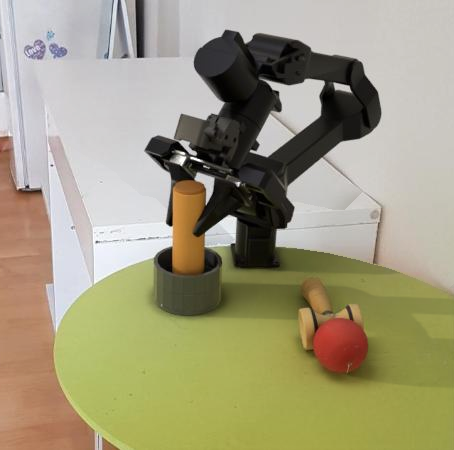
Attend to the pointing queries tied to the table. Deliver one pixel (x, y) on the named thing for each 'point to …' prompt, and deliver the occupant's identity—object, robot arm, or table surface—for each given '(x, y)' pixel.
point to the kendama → (332, 330)
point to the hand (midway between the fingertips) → (181, 230)
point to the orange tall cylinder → (188, 228)
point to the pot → (187, 285)
